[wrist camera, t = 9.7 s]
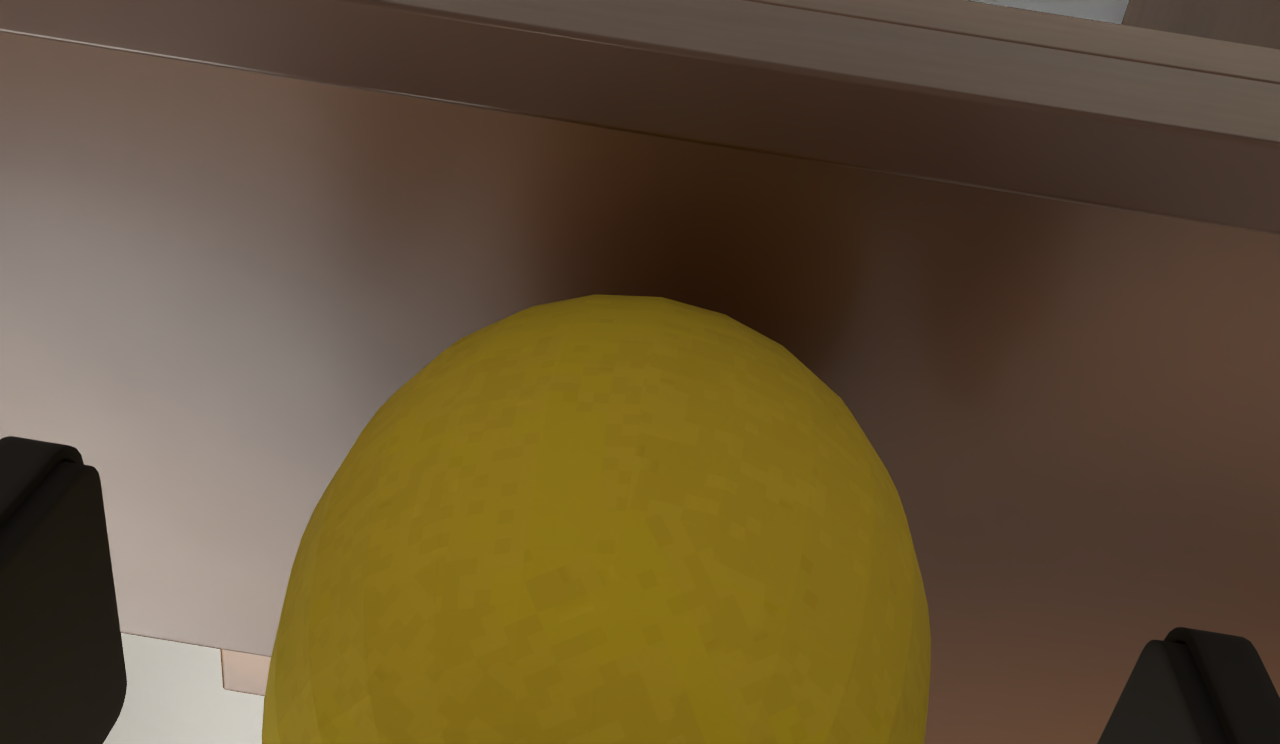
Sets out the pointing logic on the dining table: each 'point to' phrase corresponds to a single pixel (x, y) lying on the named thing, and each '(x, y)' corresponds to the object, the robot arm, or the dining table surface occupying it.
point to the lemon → (606, 550)
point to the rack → (676, 279)
